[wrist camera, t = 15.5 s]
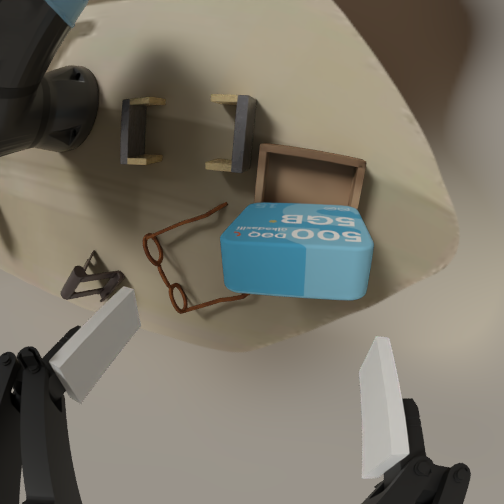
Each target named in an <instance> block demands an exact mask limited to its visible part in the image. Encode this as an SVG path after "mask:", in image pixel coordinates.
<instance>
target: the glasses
mask: <svg viewBox="0 0 504 504" xmlns="http://www.w3.org/2000/svg"><path fill="white" fill-rule="evenodd" d="M226 205H228V204H227V202H225V203H223V204H220V205H219V206H217V207H215V208H214V209H212V210H210V211H209V212H207V213H206V214H203V215H200V216H197V217H194V218H191V219H187V220H184V221H182V222H179V223H177V224H174V225H172V226H170V227H167V228H165V229H163V230H160V231H158V232H156V233H153V234H152V233H148V234H146V235H145V236H144V238H143V248H144V251H145V254H146V256H147V258H148V259H149V261H150V262H151V263H152V264H153V265H155V266H157V267H158V271H159V273H160V275H161V277H162V279H163V281H164V283H165V284H166V286H167V287H168V288H169V296H170V300H171V302H172V305H173V307H174V308H175V310H176V311H177V312H178V313H180V314H182V313H186V312H189V311H192V310H196V309H199V308H203V307H206V306H209V305H213V304H216V303H219V302H226V301H234V300H239V299H244V298H245V297H247V296H248V295H250V294H246V293H243V294H242V295H238V296H233V297H225V298H219V299H215V300H212V301H209V302H206V303H202V304H199V305H196V306H192V307H189V308H187V298H186V295H185V294H184V292H183V290H182V288H181V286H180V285H179V284H178V283H174V284H172V285H170V283H169V282H168V280H167V278H166V276H165V274H164V272H163V270H162V268H161V265H160V264H161V263H162V260H163V251H162V248H161V246H160V244H159V242H158V240H157V238H156V237H155V236H157V235H159V234H161V233H164V232H166V231H168V230H171V229H173V228H176V227H178V226H180V225H183V224H186V223H190V222H193V221H197V220H200V219H203V218H206V217H208V216H210V215H211V214H213V213H215V212H216V211H218V210H220V209H221V208H223V207H225V206H226ZM150 238H152V239H153V240H154V242H155V243H156V245H157V247H158V250H159V259H158V261H156V260H154V259H153V258H152V256H151V255H150V253H149V250H148V247H147V240H148V239H150ZM175 287H177V288H178V289H179V291H180V292H181V294H182V297H183V301H184V307H183V309H180V308H179V307H178V306H177V304H176V302H175V300H174V296H173V289H174V288H175Z"/></svg>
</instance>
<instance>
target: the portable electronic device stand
mask: <svg viewBox="0 0 504 504" xmlns="http://www.w3.org/2000/svg"><path fill="white" fill-rule="evenodd" d="M94 252H95V250H94V251H93V252H92V254H91V256H90V258H89V259H88V260H87V261H86V263H85V265H84V267H81V266H75V267H74V269H73V271H72V273H71V274H70V276H69V278H68V280H67V281H66V283H65V285H64V287H63V289H62V291H61V296H62V298H63V299H66V300H68V299H73V298H78V297H83V296H88V295H93V294H100V296H101V298H102V299H101V300H100V301H101V302H102V301H104V300H105V299H106V298H107V297H108V296H109V295H110V294H111V292H112V291H113V290H114V289H115V288H116V287H117V286H118V285H119V284H120V283H121V282H122V280H123V279H124V274H123V273H122V272H121V271H112V272H105V273H98V274H92V275H87V274H86V272H85V271H86V269H87V267H88V265H89V262H90V260H91V258H92V256H93V254H94ZM105 278H111V279H110V280H109V282H108V283H107V284H106V285H105V286H104V287H103V288H99V289H94V290H88V291H83V292H75V289H76V288H77V286H78V285H79V283H80V282H87V281H93V280H99V279H105Z"/></svg>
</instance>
